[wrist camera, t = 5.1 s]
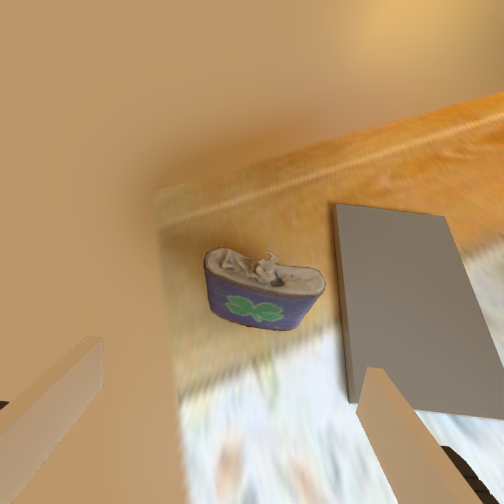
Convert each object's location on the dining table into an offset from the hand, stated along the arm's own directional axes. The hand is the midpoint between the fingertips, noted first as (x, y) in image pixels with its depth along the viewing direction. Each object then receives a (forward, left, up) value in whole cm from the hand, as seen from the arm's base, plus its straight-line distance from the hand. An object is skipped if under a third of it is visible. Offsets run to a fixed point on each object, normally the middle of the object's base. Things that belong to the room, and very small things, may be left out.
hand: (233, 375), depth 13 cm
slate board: (-17, -11, -11) cm, 23 cm away
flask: (-1, -7, -11) cm, 13 cm away
